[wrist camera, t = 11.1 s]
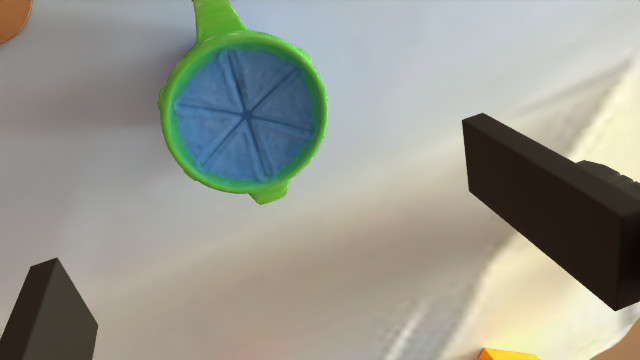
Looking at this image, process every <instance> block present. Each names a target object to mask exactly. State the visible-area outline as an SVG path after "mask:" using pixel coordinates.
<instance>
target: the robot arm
mask: <svg viewBox="0 0 640 360" xmlns="http://www.w3.org/2000/svg"><path fill="white" fill-rule="evenodd" d="M462 126H463V136H464V146H465V156H466V166H467V175H468V185H469V191H470V192H471V193H472V194H473V195H475V196H476V197H477V198H478V199H479V200H481V201H482V202H483V203H484V204H485V205H487V206H488V207H489V208H490V209H492V210H493V211H494V212H495V213H496V214H498V215H499V216H500V217H501V218H502V219H504V220H505V221H506V222H507V223H509V224H510V225H511V226H512V227H513V228H515V229H516V230H517V231H518V232H519V233H521V234H522V235H523V236H524V237H525V238H527V239H528V240H529V241H530V242H532V243H533V244H534V245H535V246H536V247H538V248H539V249H540V250H541V251H542V252H544V253H545V254H546V255H547V256H548V257H550V258H551V259H552V260H553V261H555V262H556V263H557V264H558V265H559V266H561V267H562V268H563V269H564V270H565V271H567V272H568V273H569V274H570V275H572V276H573V277H574V278H575V279H576V280H578V281H579V282H580V283H581V284H582V285H584V286H585V287H586V288H587V289H588V290H590V291H591V292H592V293H593V294H595V295H596V296H597V297H598V298H599V299H601V300H602V301H603V302H604V303H605V304H607V305H608V306H609V307H610V308H611V309H613V310H614V311H617V310H620V309H622V308H625V307H627V306H630V305H632V304H634V303H637V302H639V301H640V183H638V182H636V181H635V182H633V180H632V179H631V178H629V177H627V176H625V175H620V173H619V172H617V171H615V170H613V169H611V168H609V167H607V166H605V165H602V164H598V163H594V162H589V161H585V160H583V161H580V162H577V163H574V162H572V161H571V160H569V159H567V158H565V157H563V156H561V155H560V154H558V153H556V152H554V151H552V150H550V149H549V148H547V147H545V146H543V145H541V144H539V143H538V142H536V141H534V140H532V139H530V138H528V137H526V136H525V135H523V134H521V133H519V132H517V131H515V130H514V129H512V128H510V127H508V126H506V125H504V124H503V123H501V122H499V121H497V120H495V119H493V118H492V117H490V116H488V115H486V114H484V113H481V114H478V115H475V116H472V117H469V118H466V119H463V120H462ZM97 329H98V324H97V322H96V321H95V319H94V317H93V316H92V314H91V312H90V311H89V309H88V307H87V306H86V304H85V302H84V301H83V299H82V297H81V296H80V294H79V292H78V291H77V289H76V287H75V286H74V284H73V282H72V281H71V279H70V278H69V276H68V274H67V273H66V271H65V269H64V268H63V266H62V264H61V263H60V261H59V259H58V258H54V259H51V260H48V261H45V262H42V263H40V264H37V265H34V266H31V267H30V270H29V272H28V274H27V277H26V279H25V282H24V284H23V286H22V289H21V291H20V294H19V296H18V298H17V301H16V303H15V306H14V308H13V311H12V313H11V315H10V318H9V320H8V323H7V325H6V327H5V330H4V332H3V335H2V337H1V340H0V360H92V358H93V352H94V346H95V341H96V335H97Z"/></svg>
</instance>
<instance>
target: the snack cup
mask: <svg viewBox="0 0 640 360" xmlns="http://www.w3.org/2000/svg"><path fill="white" fill-rule="evenodd" d="M192 1H193V2H194V10H195V17H196V31H197V38H196V44H195V46H194V48H193V49H191V50H190V51H189V52H188V53H187V54H186V55H185V56H184V57H183V58H182V59H181V60H180V61H179V62H178V64H177V65H176V66H175V68H174V70H173V71H172V73H171V74H170V76H169V78H168V80H167V82H166V85H165V86H164V87H163V88H162V89H161V91H160V95H159V101H158V108H159V109H160V112H161V126H162V132H163V135H164V139H165V142H166V145H167V147H168V149H169V151H170V153H171V154H172V156H173V157H174V159H175V160H176V162H177V163H178V164H179V165H180V167H181V168H182V169H183V170H184V172H185V173H186V174H187V175H188V176H189V177H190V178H192V179H193V180H195V181H198V182H200V183H202V184H204V185H206V186H208V187H210V188H213V189H216V190H219V191H223V192H229V193H237V194H245V193H248V194H249V195H250V196H252V198H253V199H254V200H255V201H256V202H257V203H258V204H260V205H262V204H266V203H269V202H272V201H275V200H278V199H280V198H282V197H284V196H285V194H286V193H287V190H288V184H289V180H290V179H291V178H292V177H294V176H295V175H297V174H298V173H299V172H300V171H301V170H302V169H303V168H304V167H305V166H306V165H307V164H308V163H309V162H310V161H311V159H312V158H313V157H314V155H315V154H316V152H317V151H318V149H319V147H320V144H321V142H322V139H323V138H324V136H325V133H326V128H327V118H328V99H327V95H326V91H325V88H324V85H323V83H322V80H321V78H320V76H319V74H318V73H317V71H316V69H315V68H314V66H313V65H312V60H311V58H310V57H309V56H308V55H307V54H306V53H305V52H304V51H303V50H302V49H300V48H296V47H294V46H292V45H291V44H289V43H288V42H286V41H284V40H281V39H279V38H277V37H274V36H272V35H269V34H266V33H262V32H254V31H250V30H249V29H247V28H246V27H245V25H244V24H243V23H242V21H241V20H240V18H239V16H238V15H237V13H236V12H235V10H234V9H233V7H232V5H231V4H230V2H229V1H228V0H192Z"/></svg>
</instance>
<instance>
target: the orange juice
mask: <svg viewBox="0 0 640 360" xmlns="http://www.w3.org/2000/svg"><path fill="white" fill-rule="evenodd" d="M478 360H539V358H538V357H537V356H536V355H533V354H526V353H518V352H511V351H504V350H496V349H489V348H484V349H483V351H482V353H481V354H480V356H479V358H478Z"/></svg>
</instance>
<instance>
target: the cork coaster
mask: <svg viewBox="0 0 640 360" xmlns="http://www.w3.org/2000/svg"><path fill="white" fill-rule="evenodd" d="M31 8H32V0H0V44H2V43H4V42H5V41H7V40H9V39H11V38H12V37H13V36H15V35H16V34H17V33H18V32H19V31H20V30H21V29H22V28H23V26H24V25H25V23H26V22H27V20H28V18H29V15H30V12H31Z"/></svg>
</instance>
